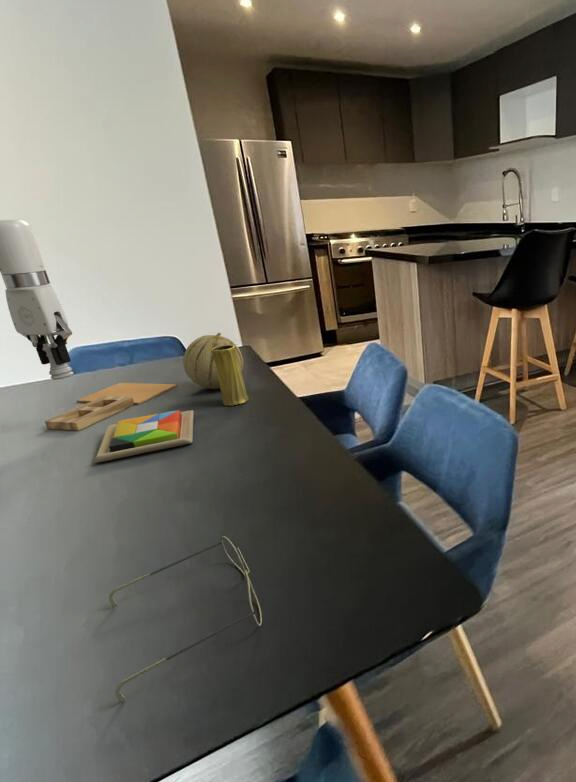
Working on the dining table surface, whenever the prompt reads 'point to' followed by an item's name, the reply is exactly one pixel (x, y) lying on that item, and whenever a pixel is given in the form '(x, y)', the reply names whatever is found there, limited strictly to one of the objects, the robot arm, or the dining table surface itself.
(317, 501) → the dining table surface
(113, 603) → the eyeglasses
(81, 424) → the holder
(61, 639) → the dining table surface
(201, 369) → the cantaloupe
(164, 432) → the wooden puzzle
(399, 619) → the dining table surface
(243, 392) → the vase
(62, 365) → the rook chess piece
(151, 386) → the cork mat
